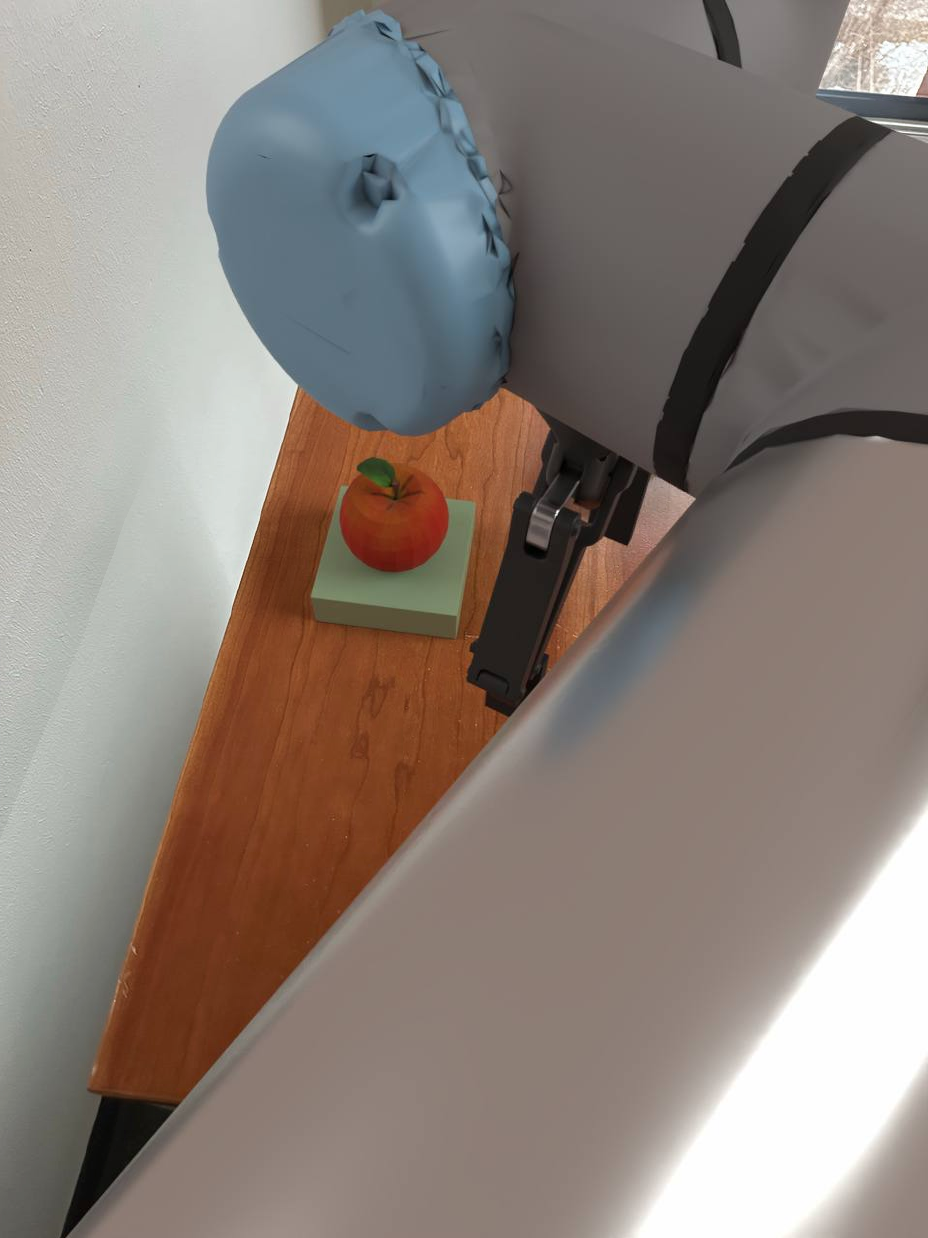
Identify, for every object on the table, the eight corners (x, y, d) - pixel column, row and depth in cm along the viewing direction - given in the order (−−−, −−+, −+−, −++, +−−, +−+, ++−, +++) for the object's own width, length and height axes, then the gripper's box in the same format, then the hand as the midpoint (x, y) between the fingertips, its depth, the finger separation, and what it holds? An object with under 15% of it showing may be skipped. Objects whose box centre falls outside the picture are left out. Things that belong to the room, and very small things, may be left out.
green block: (456, 639, 81) (457, 616, 78) (315, 621, 82) (310, 597, 78) (474, 527, 88) (476, 501, 85) (344, 511, 89) (341, 484, 85)
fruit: (412, 608, 78) (409, 538, 69) (323, 560, 80) (310, 487, 72) (468, 534, 82) (472, 460, 74) (383, 491, 85) (377, 415, 76)
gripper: (592, 595, 26) (528, 834, 44) (823, 169, 38) (699, 493, 56) (370, 499, 28) (396, 767, 46) (658, 120, 40) (589, 449, 58)
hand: (562, 616), depth 51 cm, fingers open, 13 cm apart
